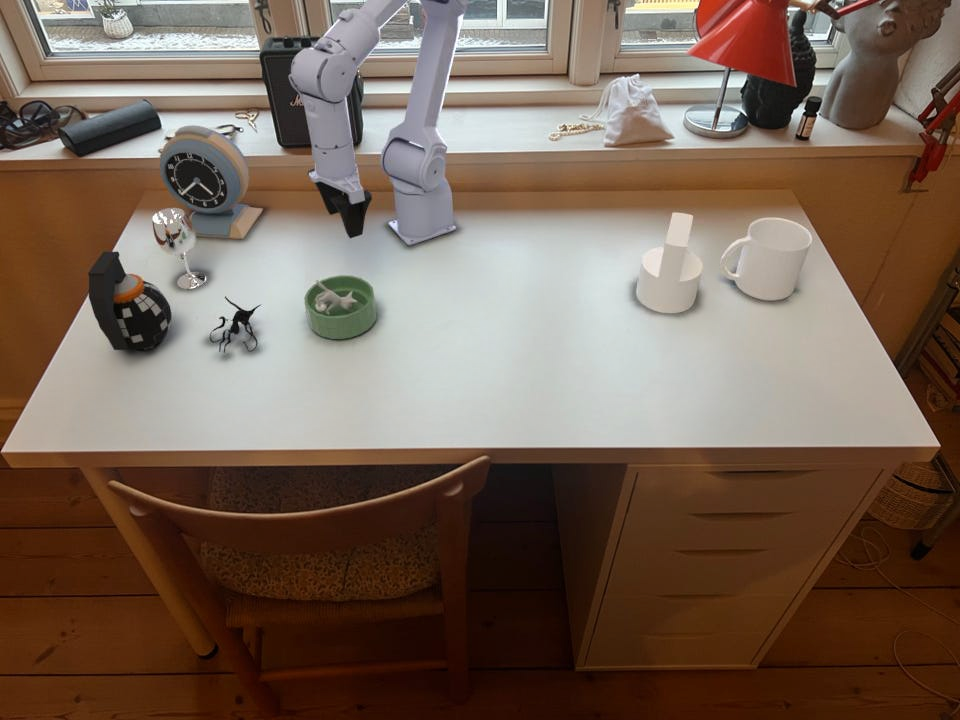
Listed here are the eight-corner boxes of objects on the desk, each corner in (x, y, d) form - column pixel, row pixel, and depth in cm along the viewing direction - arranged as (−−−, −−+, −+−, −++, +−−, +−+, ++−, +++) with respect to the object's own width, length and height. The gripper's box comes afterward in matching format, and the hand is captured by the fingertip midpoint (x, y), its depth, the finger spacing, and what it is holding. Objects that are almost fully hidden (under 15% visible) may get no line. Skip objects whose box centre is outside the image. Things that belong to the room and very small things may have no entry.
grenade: (162, 372, 97) (124, 286, 87) (95, 372, 98) (49, 286, 87) (188, 319, 106) (156, 235, 95) (126, 319, 106) (87, 235, 96)
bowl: (360, 291, 110) (356, 268, 107) (388, 326, 104) (385, 302, 101) (300, 312, 107) (294, 289, 104) (325, 350, 100) (319, 326, 97)
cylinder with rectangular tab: (691, 318, 105) (708, 251, 97) (631, 306, 107) (643, 240, 99) (697, 283, 111) (714, 218, 103) (640, 273, 113) (652, 208, 105)
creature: (250, 365, 100) (276, 322, 104) (236, 343, 95) (264, 299, 100) (203, 353, 102) (230, 312, 106) (187, 331, 97) (217, 288, 101)
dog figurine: (336, 332, 104) (365, 309, 104) (300, 299, 99) (331, 275, 98) (331, 321, 107) (360, 298, 106) (296, 288, 101) (326, 264, 101)
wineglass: (199, 293, 110) (176, 228, 102) (166, 289, 111) (140, 224, 103) (216, 272, 114) (195, 207, 106) (184, 268, 115) (161, 204, 107)
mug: (790, 270, 113) (808, 221, 107) (796, 305, 107) (815, 254, 100) (714, 262, 115) (727, 212, 109) (715, 295, 109) (729, 244, 102)
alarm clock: (170, 234, 123) (135, 139, 111) (194, 205, 130) (164, 112, 118) (248, 239, 121) (221, 143, 109) (268, 210, 128) (245, 116, 116)
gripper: (286, 127, 101) (303, 209, 110) (324, 168, 92) (339, 254, 101) (332, 116, 104) (345, 197, 113) (373, 155, 95) (383, 240, 104)
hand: (345, 223), depth 107 cm, fingers open, 7 cm apart
